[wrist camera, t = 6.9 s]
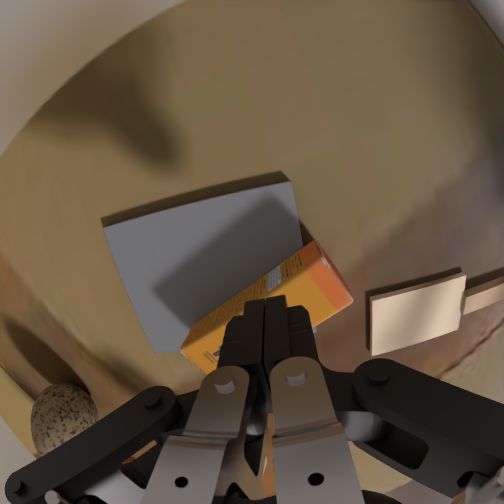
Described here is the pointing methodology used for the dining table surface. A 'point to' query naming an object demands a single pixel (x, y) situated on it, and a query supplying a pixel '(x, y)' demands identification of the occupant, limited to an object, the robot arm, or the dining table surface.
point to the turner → (426, 310)
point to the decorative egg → (60, 416)
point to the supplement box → (272, 284)
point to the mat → (201, 256)
